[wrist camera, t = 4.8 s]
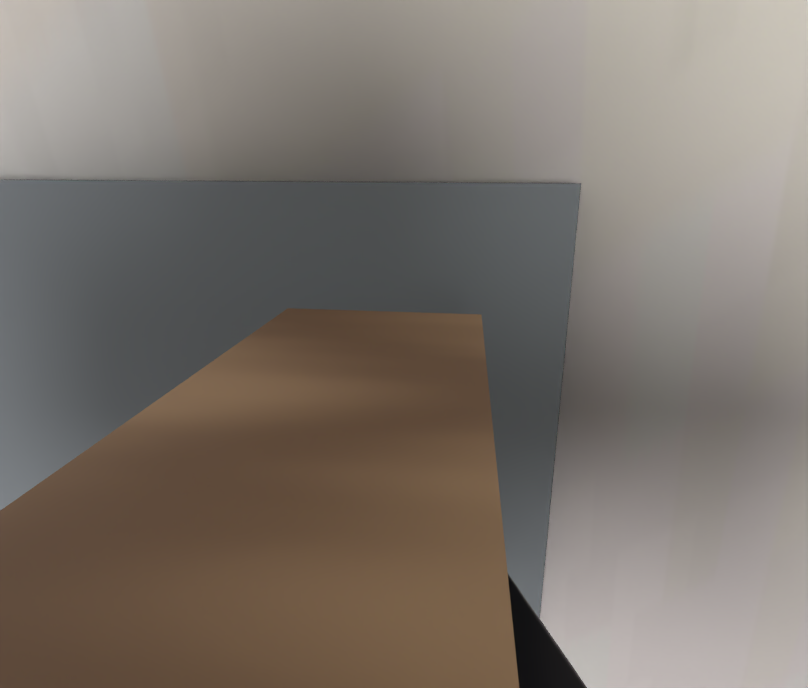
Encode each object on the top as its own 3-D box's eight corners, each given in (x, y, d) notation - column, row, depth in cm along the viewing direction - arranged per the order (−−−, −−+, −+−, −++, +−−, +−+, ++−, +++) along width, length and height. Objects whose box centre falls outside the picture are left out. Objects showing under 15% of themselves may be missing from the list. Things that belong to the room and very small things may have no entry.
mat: (575, 183, 11) (581, 183, 10) (533, 631, 14) (536, 650, 13) (-66, 179, 12) (-92, 179, 12) (28, 586, 15) (12, 601, 15)
